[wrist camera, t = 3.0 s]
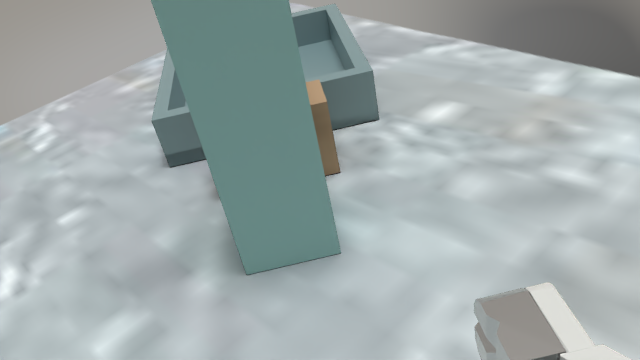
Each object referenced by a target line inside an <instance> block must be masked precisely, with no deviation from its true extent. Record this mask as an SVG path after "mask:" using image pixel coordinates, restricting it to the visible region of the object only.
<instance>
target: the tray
mask: <svg viewBox="0 0 640 360" xmlns="http://www.w3.org/2000/svg"><path fill="white" fill-rule="evenodd" d="M291 15H292V20H293V24H294V29H295V34H296V39H297V44H298V48H299V53H300V58H301V63H302V68H303V73H304V77H305V82H309V81H314V80H318V79H319V80H320V83H321V86H322V89H323V92H324V94H325V97H326V100H327V104H328V110H329V115H330V120H331V126H332V130H334V129H339V128H343V127H347V126H352V125H356V124H361V123H365V122H369V121H374V120H378V119H379V114H378V106H377V99H376V91H375V84H374V76H373V70H372V68H371V66H370V65H369V63H368V61H367V59H366V57H365V56H364V54H363V52H362V50H361V49H360V47H359V45H358V43H357V41H356V40H355V38H354V36H353V34H352V33H351V31H350V29H349V27H348V25H347V24H346V22H345V20H344V18H343V16H342V15H341V13H340V11H339V9H338V8H337V6H336V4H332V5H327V6H323V7H318V8H314V9H309V10H305V11H300V12H296V13H291ZM152 123H153V126H154V128H155V131H156V133H157V136H158V138H159V141H160V143H161V146H162V148H163V151H164V153H165V156H166V158H167V161H168V163H169V166H170V167H173V166H177V165H181V164H186V163H190V162H195V161H199V160H203V159H206V157H205V154H204V151H203V148H202V145H201V142H200V139H199V137H198V134H197V131H196V128H195V125H194V122H193V119H192V117H191V114H190V111H189V108H188V105H187V102H186V99H185V96H184V94H183V91H182V88H181V85H180V82H179V79H178V76H177V73H176V71H175V68H174V65H173V62H172V59H171V56H170V53H169V51H168V48H167V52H166V57H165V61H164V66H163V70H162V75H161V79H160V84H159V89H158V93H157V98H156V102H155V107H154V112H153V116H152Z"/></svg>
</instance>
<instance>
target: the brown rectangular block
mask: <svg viewBox="0 0 640 360" xmlns="http://www.w3.org/2000/svg"><path fill="white" fill-rule="evenodd" d="M306 87H307V92H308V97H309V102H310V106H311V111H312V116H313V121H314V126H315V130H316V135H317V140H318V145H319V150H320V155H321V159H322V164H323V169H324V174H325V176H326V175H330V174H335V173H339V172H340V168H339V163H338V157H337V152H336V147H335V141H334V136H333V131H332V126H331V120H330V115H329V110H328V104H327V100H326V97H325V94H324V92H323V89H322V86H321V83H320V80H319V79H318V80H314V81H309V82H306Z"/></svg>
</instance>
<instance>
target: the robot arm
mask: <svg viewBox="0 0 640 360" xmlns="http://www.w3.org/2000/svg"><path fill="white" fill-rule="evenodd" d="M474 313H475V315H476V317H477V319H478V321H479V322H478V323H477V325H476V326H475V339H476V343H477V348H478V352H479V355H480V357H481V360H632V359H630V358H628V357H626V356H624V355H622V354H621V353H619V352H617V351H615V350H613V349H611V348H609V347H608V346H606V345H604V344H601V345H596V346H595V344H594V343H593V341H592V340H591V338H590V337H589V335H588V334H587V333H586V331H585V330H584V328H583V327H582V325H581V324H580V323H579V321H578V320H577V318H576V317H575V315H574V314H573V313H572V311H571V310H570V308H569V307H568V305H567V304H566V302H565V301H564V300H563V298H562V297H561V295H560V294H559V292H558V291H557V290H556V288H555V287H554V285H552V284H551V283H549V282H547V283H543V284H539V285H535V286H530V287H526V288H520V289H516V290H512V291H508V292H504V293H500V294H496V295H492V296H488V297H484V298H480V299H476V300H475V303H474Z"/></svg>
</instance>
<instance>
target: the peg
mask: <svg viewBox="0 0 640 360" xmlns="http://www.w3.org/2000/svg"><path fill="white" fill-rule="evenodd" d="M151 2H152V4H153V8H154V10H155V13H156V16H157V19H158V22H159V25H160V28H161V30H162V33H163V36H164V39H165V42H166V45H167V48H168V51H169V53H170V56H171V59H172V62H173V65H174V68H175V71H176V73H177V76H178V79H179V82H180V85H181V88H182V91H183V94H184V96H185V99H186V102H187V105H188V108H189V111H190V114H191V117H192V119H193V122H194V125H195V128H196V131H197V134H198V137H199V139H200V142H201V145H202V148H203V151H204V154H205V157H206V160H207V162H208V165H209V168H210V171H211V174H212V177H213V180H214V182H215V185H216V188H217V191H218V194H219V197H220V200H221V203H222V205H223V208H224V211H225V214H226V217H227V220H228V223H229V225H230V228H231V231H232V234H233V237H234V240H235V243H236V246H237V248H238V251H239V254H240V257H241V260H242V263H243V266H244V268H245V271H246V274H247V275H249V274H253V273H257V272H262V271H266V270H270V269H275V268H279V267H283V266H288V265H292V264H296V263H300V262H305V261H309V260H313V259H318V258H322V257H326V256H331V255H335V254H339V253H341V251H340V246H339V241H338V237H337V232H336V227H335V222H334V217H333V212H332V208H331V203H330V198H329V193H328V188H327V184H326V179H325V174H324V169H323V164H322V159H321V155H320V150H319V145H318V140H317V135H316V130H315V126H314V121H313V116H312V111H311V106H310V102H309V97H308V92H307V87H306V82H305V77H304V73H303V68H302V63H301V58H300V53H299V48H298V44H297V39H296V34H295V29H294V24H293V20H292V15H291V10H290V5H289V0H151Z"/></svg>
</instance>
